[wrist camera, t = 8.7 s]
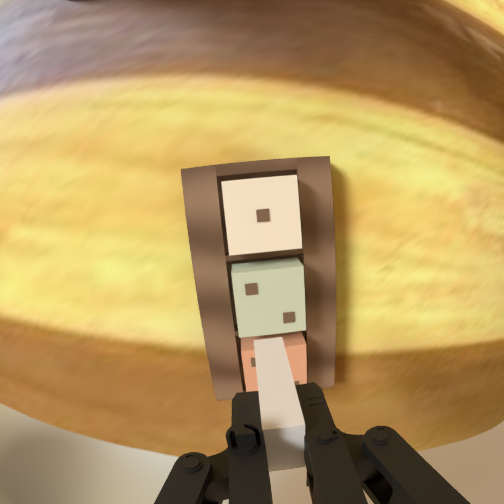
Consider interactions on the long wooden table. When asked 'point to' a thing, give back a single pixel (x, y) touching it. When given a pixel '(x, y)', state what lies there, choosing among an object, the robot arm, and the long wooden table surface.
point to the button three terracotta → (295, 355)
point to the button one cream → (262, 214)
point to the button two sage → (269, 297)
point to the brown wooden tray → (220, 263)
